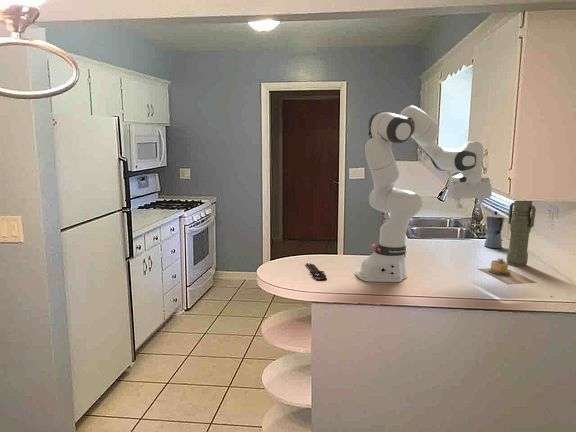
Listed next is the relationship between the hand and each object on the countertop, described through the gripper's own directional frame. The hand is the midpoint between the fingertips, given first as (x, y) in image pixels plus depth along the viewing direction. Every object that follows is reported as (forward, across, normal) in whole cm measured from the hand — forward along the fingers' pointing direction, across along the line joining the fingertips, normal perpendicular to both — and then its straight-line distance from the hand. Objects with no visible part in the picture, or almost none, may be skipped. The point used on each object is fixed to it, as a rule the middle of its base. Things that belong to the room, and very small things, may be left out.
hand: (468, 208), depth 220 cm
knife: (+30, +70, -7) cm, 77 cm away
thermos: (+29, -28, 0) cm, 40 cm away
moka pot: (+29, -40, -36) cm, 61 cm away
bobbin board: (+29, -11, +16) cm, 35 cm away
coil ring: (+27, -11, +11) cm, 31 cm away
